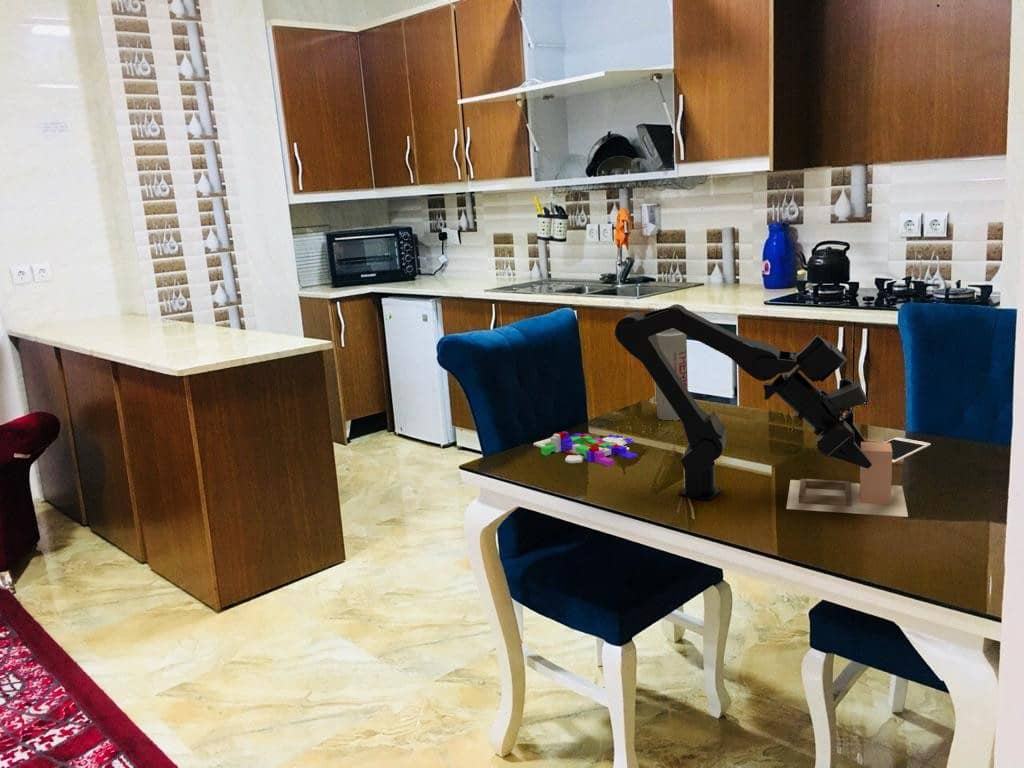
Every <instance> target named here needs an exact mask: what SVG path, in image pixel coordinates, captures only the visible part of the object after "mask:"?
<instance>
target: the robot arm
mask: <svg viewBox="0 0 1024 768" xmlns="http://www.w3.org/2000/svg"><path fill="white" fill-rule="evenodd" d="M672 328H674V329H676V330H678V331H680V332H682V333H684V334H686V336H687V337H690V338H692V339H693V340H696V341H697V342H700V343H702V344H703V345H706V346H707V347H709V348H711V349H713V350H715V351H717V352H719V353H720V354H722V355H725V356H726V357H728V358H730V359H731V360H732V361H733V362H734V363H735V364H736V365H737V366H738V367H739V368H740V369H741V370H742V371H744V372H746V373H747V374H748V375H750V376H751V377H752V378H754V379H755V380H756V381H760V382H764V383H763V391H764V396H763V397H764V398H763V399H764V400H766V401H768V400H770V398H772V397H773V395H774V394H775V395H776V396H777V397H778V398H779V399H781V400H782V401H783V402H784V403H785V404H787V406H788V407H789V408H790V409H792V410H793V412H795V413H796V418H797V419H799V420H800V421H802V420H803V421H804V422H805V423H806V424H808V425H809V427H811V428H812V429H813V433H814V434H815V435H816V436H817V439H816V440H817V442H816V443H817V445H816V447H817V450H818V451H819V453H820V454H822V455H823V456H824V457H829V458H831V457H832V458H835V459H838V460H841V461H844V462H848V463H851V464H853V465H856V466H859V467H860V466H861V467H864V468H867V469H868V468H870V467H871V466H872V463H871V462H870V461H869V459H868V458H867V457H866V456H865V454H864V453H863V452H862V450H861V442H867V440H866V439H865V438H864V437H863V434H861V432H860V431H859V429H858V428H857V426H856V425H855V423H854V410H853V409H852V408H854V407H856V406H862V405H864V404H866V403H867V401H868V400H867V395H866V393H865V391H864V389H863V387H862V385H861V384H860V382H859V381H857V380H854V381H853V380H852V379H850V378H848V377H844V378H842V379H840V380H839V381H838V382H839V383H838V384H839V387H838V388H835V389H834V390H833V391H831V392H828V391H826V390H825V389H824V388H823V389H821V388H820V389H818V387H816V386H815V385H814V384H813V383H815V382H816V383H818V382H825V381H826V380H827V379H828V378H830V376H832V375H833V374H834V373H835V372H836V371H837V370H838V369H839V368H840V367H841V366H843V364H845V363H846V362H847V360H848V359H847V357H846V356H845V355H844V353H843V352H842V351H841V350H840V349H839V348H838V347H837V346H835V344H833V343H831V342H829V341H828V340H826V339H825V338H823V337H822V336H821V335H819V334H816V335H815V336H814V337H813V338H812V339H811V341H810V342H809V343H808V344H807V345H806V346H805V347H804V348H803V349H802V350H801V351H800V352H794V351H788V350H781V349H779V348H778V347H777V346H775V345H773V344H769V343H767V342H763V341H761V340H757V339H752V338H746V337H743V336H741V335H737V334H736V333H733V332H732V331H730V330H728V329H726V328H724V327H722V326H721V325H718V324H715V323H714V322H712V321H710V320H708V319H706V318H705V317H702V316H700V315H698V314H697V313H694V312H692V311H691V310H689V309H687V308H686V307H684V306H683V305H682V304H672V305H670V306H668V307H666V308H661V309H657V310H652V311H649V312H645V313H644V312H639V311H635V312H634V311H633V312H630V313H628V314H627V315H625V316H624V317H623V318H621V319H620V320H619V321H618V322H617V324H616V326H615V329H614V330H615V331H614V336H615V339H616V341H617V342H618V343H619V344H620V345H621V346H622V347H623V348H624V349H625V350H626V351H627V353H629V354H630V355H631V356H632V357H634V358H636V359H637V361H639V362H641V364H642V365H643V367H644V368H645V369H646V370H647V372H648V373H649V375H650V376H651V378H652V380H653V381H654V383H655V385H656V384H657V386H658V387H659V389H660V390H661V392H662V393H663V395H664V396H665V398H666V399H667V400H668V402H669V403H670V405H671V406H672V408H673V409H674V411H675V412H676V414H677V415H678V417H679V418H680V420H681V421H680V422H681V423H682V425H683V429H684V432H685V436H686V440H687V442H688V444H689V445H688V446H687V448H686V450H685V451H684V453H683V455H682V457H681V459H680V463H681V465H682V468H683V470H684V481H685V482H684V488H683V489H681V490H679V491H678V493H677V494H678V496H682V497H687V498H692V499H698V500H701V501H702V500H703V501H710V500H711V499H712V498H714V497H716V495H718V494H719V493H720V492H722V491H723V488H722V487H720V486H716V473H715V472H716V469H715V463H716V462H715V461H717V459H719V458H720V457H721V455H722V453H723V452H724V449H725V446H726V443H727V433H726V429H727V426H725V424H723V423H722V422H721V421H720V419H719V417H718V414H717V413H716V411H713V412H712V413H710V414H708V413H707V412H705V410H703V409H702V408H701V407H700V406H699V405H698V404H699V403H697V402H696V400H695V398H694V397H693V395H692V394H691V392H690V391H689V388H688V389H687V388H686V386H685V385H684V384H683V382H682V381H681V379H680V378H679V376H678V375H677V373H676V372H675V370H674V369H673V367H672V366H671V364H670V363H669V361H668V360H667V358H666V357H665V355H664V354H663V352H662V351H661V349H660V346H659V343H658V339H657V336H656V334H657V333H660V332H663V331H665V330H668V329H672ZM800 371H801V372H800ZM777 375H778V376H777ZM776 376H777V377H776ZM806 377H807V378H808V379H809V380H810V381H812V382H813V383H812V382H810V381H809V380H808V379H807V378H806ZM774 378H775V379H774ZM772 379H773V380H772ZM771 380H772V381H771ZM765 381H771V382H765ZM846 411H847V413H845V412H846Z"/></svg>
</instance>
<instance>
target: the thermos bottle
mask: <svg viewBox="0 0 1024 768" xmlns="http://www.w3.org/2000/svg"><path fill="white" fill-rule="evenodd" d="M656 336H657V339H658V343H659V346H660V349H661V351H662V352H663V354H664V355H665V357H666V358H667V360H668V361H669V363H670V364H671V366H672V367H673V369H674V370H675V372H676V373H677V375H678V376H679V378H680V379H681V381H682V382H683V384H684V385H685V386H686V388H687V389H688V390H689V388H688V387H689V385H688V384H689V383H688V348H687V347H688V345H687V340H688V339H687V335H686V334H684V333H682V332H680V331H678V330H676V329H674V328H672V329H668V330H665V331H663V332H660V333H657V334H656ZM655 389H656V391H655V393H656V394H655V395H656V413H657V414H656V418H657V417H658V418H659V419H662V420H661V421H663V420H679V419H680V418H679V417H678V415H677V414H676V412H675V411H674V409H673V408H672V406H671V405H670V403H669V402H668V400H667V399H666V398H665V396H664V395H663V393H662V392H661V390H660V389H659V387H658V386H657V384H656V383H655ZM658 418H657V419H658ZM659 419H658V420H659Z"/></svg>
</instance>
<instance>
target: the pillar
mask: <svg viewBox="0 0 1024 768" xmlns="http://www.w3.org/2000/svg"><path fill="white" fill-rule="evenodd" d="M861 450H862V452H863V453H864V454H865V456H866V457H867V458H868V459H869V461H870V462H871V463H872V466H871V467H870V468H868V469H867V468H864V467H861V466H859V467H860V468H859V474H860V475H859V484H860V503H869V504H885V505H891V485H892V480H893V479H892V476H893V474H892V473H893V472H892V471H893V463H892V447H891V443H885V442H875V441H874V442H872V441H871V442H868V441H866V442H861Z"/></svg>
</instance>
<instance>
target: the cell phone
mask: <svg viewBox="0 0 1024 768" xmlns="http://www.w3.org/2000/svg"><path fill="white" fill-rule="evenodd" d="M884 443H891V447H892V464H895V463H897V462H899V461H902V460H903V459H905V458H907V457H909V456H911V455H913V454H915V453H917V452H919V451H922V450H923V449H925V448H927V447H930V446H931V443H930V442H927V441H926V442H925V441H919V440H915V439H914V440H913V439H909V438H905V437H904V438H903V437H894V438H891V439H889V440H887V441H884Z"/></svg>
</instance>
